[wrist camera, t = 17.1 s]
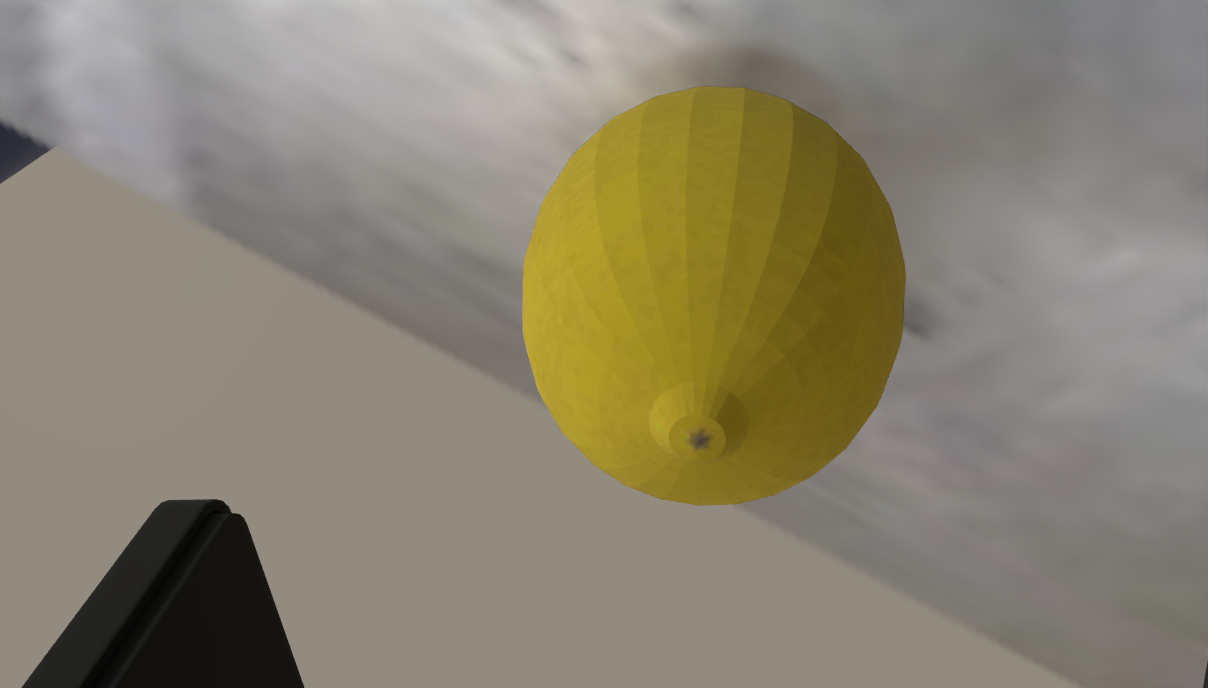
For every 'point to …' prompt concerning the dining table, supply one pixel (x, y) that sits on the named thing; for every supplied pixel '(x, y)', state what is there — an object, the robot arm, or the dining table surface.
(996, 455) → the dining table surface
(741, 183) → the lemon
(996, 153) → the dining table surface
